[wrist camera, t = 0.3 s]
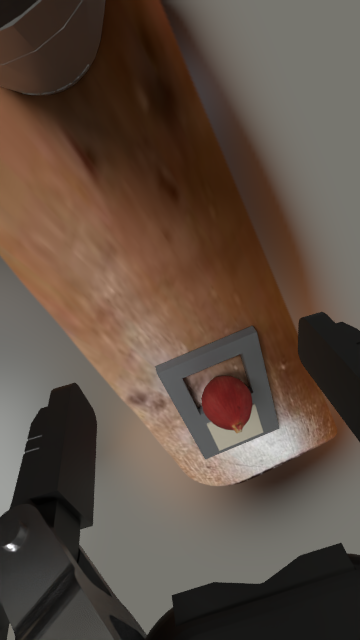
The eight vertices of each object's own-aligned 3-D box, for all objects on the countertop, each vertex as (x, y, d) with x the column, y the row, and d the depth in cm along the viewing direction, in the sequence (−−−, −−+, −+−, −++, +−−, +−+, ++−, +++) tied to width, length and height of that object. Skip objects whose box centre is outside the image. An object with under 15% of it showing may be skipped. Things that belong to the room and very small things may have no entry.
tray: (155, 366, 35) (157, 374, 34) (252, 325, 35) (257, 332, 34) (202, 452, 47) (205, 460, 46) (275, 421, 47) (279, 429, 45)
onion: (247, 370, 39) (277, 421, 32) (219, 400, 41) (243, 453, 34) (213, 355, 36) (238, 408, 30) (185, 388, 38) (203, 444, 32)
